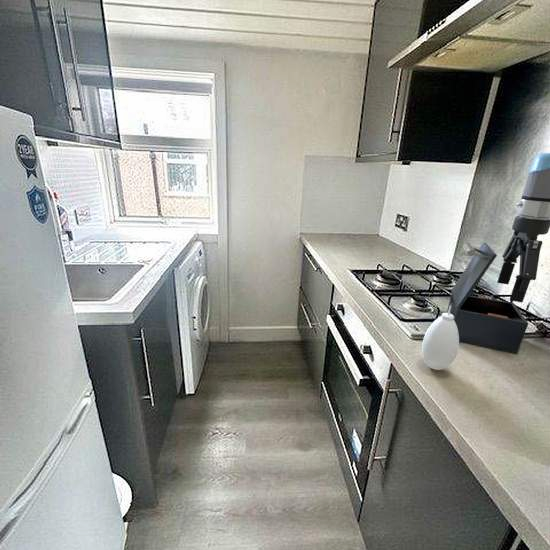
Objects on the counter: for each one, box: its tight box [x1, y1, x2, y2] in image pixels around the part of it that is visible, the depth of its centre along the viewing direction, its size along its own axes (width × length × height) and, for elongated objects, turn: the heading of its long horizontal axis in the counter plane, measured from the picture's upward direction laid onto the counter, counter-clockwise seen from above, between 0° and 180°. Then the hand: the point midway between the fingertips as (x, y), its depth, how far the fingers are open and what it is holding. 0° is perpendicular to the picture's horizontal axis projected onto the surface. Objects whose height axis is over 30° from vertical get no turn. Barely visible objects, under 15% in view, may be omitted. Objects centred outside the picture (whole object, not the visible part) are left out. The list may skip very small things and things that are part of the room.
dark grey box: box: [446, 294, 529, 355], centre depth 91 cm, size 17×14×10 cm
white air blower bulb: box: [421, 305, 460, 371], centre depth 74 cm, size 8×8×18 cm
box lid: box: [451, 241, 498, 309], centre depth 89 cm, size 18×14×6 cm
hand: (508, 291), depth 86 cm, fingers open, 13 cm apart
